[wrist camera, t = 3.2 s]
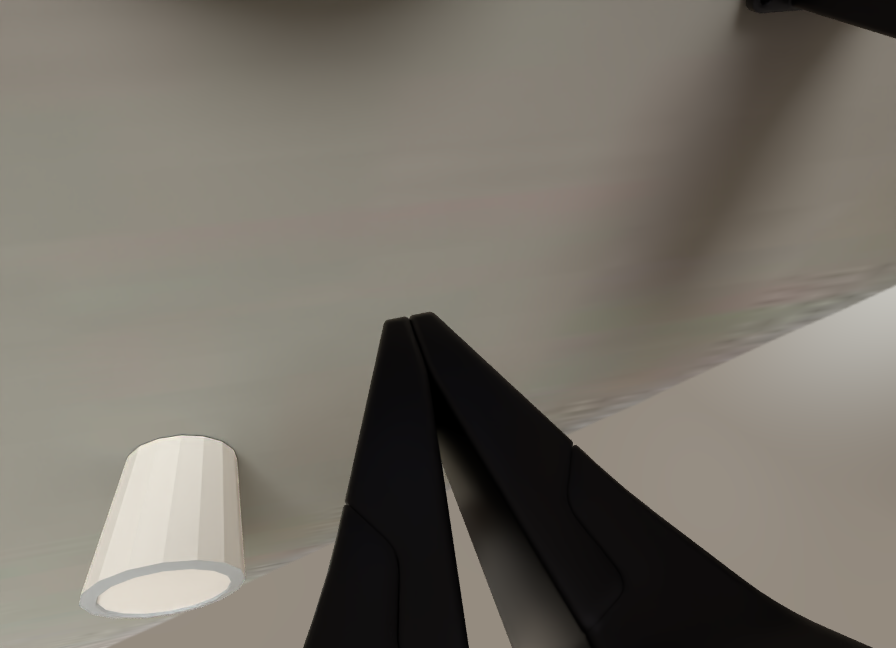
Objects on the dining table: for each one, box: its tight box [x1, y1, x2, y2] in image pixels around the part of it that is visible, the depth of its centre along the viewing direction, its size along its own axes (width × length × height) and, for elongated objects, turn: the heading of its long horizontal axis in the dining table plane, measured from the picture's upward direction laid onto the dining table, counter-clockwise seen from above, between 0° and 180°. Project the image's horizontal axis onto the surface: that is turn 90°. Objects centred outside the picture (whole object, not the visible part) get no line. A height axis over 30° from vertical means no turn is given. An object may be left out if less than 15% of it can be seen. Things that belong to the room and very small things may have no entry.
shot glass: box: [79, 435, 246, 619], centre depth 25 cm, size 7×7×7 cm
